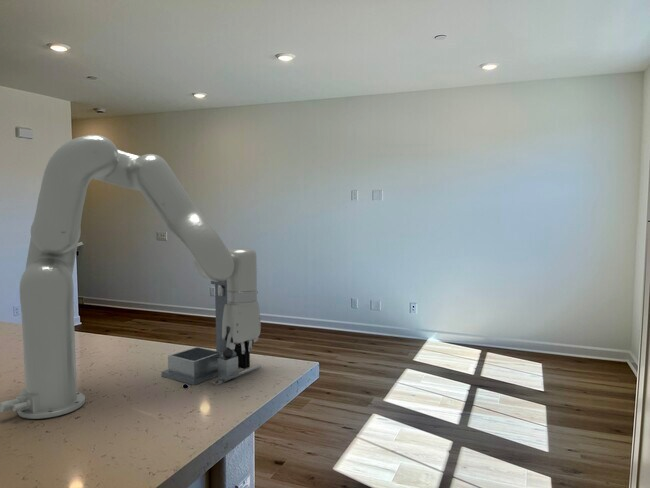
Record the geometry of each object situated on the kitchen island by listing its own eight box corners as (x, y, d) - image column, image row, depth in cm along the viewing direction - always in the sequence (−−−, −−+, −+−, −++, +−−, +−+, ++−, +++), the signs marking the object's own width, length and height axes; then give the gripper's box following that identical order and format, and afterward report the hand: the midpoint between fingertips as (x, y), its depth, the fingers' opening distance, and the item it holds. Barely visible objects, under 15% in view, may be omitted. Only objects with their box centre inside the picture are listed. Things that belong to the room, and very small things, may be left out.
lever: (226, 380, 116) (226, 351, 115) (218, 378, 117) (217, 349, 117) (238, 375, 119) (237, 347, 119) (229, 373, 121) (229, 345, 120)
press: (207, 389, 112) (205, 283, 110) (161, 376, 121) (159, 278, 119) (260, 367, 128) (259, 274, 126) (216, 357, 137) (215, 270, 135)
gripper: (251, 291, 130) (252, 357, 131) (209, 299, 117) (211, 372, 118) (272, 294, 126) (273, 362, 127) (231, 302, 113) (233, 378, 114)
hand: (243, 367), depth 123 cm, fingers closed
